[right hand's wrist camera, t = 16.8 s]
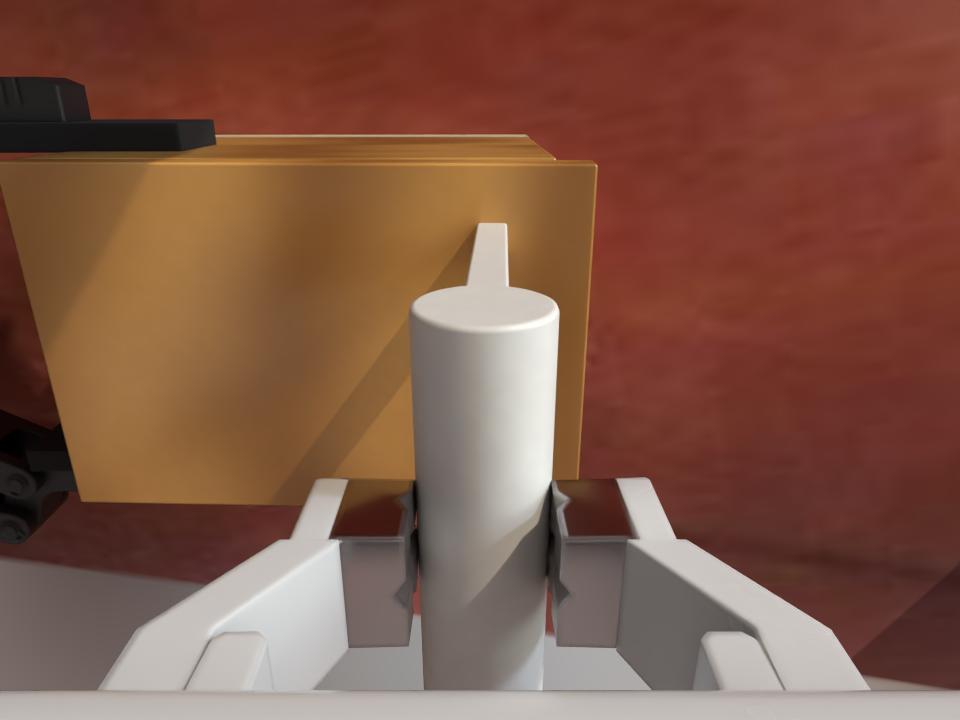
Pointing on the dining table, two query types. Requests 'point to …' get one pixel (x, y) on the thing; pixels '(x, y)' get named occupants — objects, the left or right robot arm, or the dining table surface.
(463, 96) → the dining table surface
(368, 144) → the chest
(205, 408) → the lid
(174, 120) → the left robot arm
